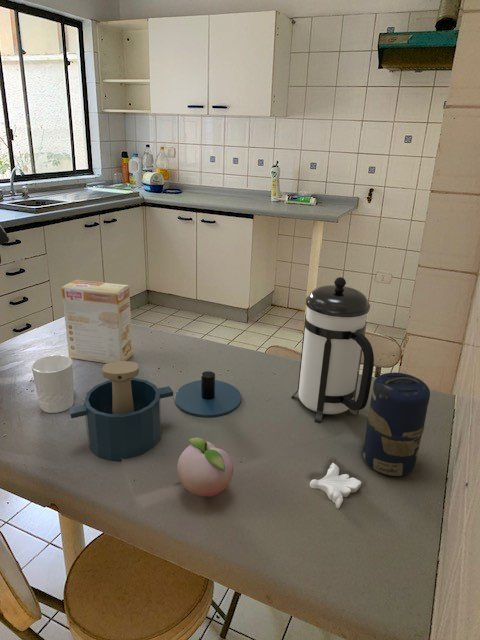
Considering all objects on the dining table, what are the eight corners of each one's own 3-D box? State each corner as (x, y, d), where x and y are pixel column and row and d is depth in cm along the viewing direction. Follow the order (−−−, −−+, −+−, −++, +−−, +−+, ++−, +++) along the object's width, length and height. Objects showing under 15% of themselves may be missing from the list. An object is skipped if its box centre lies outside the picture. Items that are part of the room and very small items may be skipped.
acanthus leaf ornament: (331, 467, 84) (333, 459, 84) (364, 488, 80) (365, 479, 79) (305, 486, 79) (306, 477, 79) (338, 509, 75) (340, 500, 74)
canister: (418, 484, 81) (438, 395, 74) (362, 476, 82) (378, 388, 76) (409, 450, 90) (427, 368, 83) (359, 443, 91) (372, 362, 84)
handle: (109, 429, 91) (103, 361, 86) (142, 427, 92) (139, 360, 87) (106, 444, 87) (100, 374, 81) (141, 442, 88) (137, 372, 82)
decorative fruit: (166, 492, 77) (164, 442, 73) (201, 468, 83) (201, 420, 79) (206, 522, 71) (207, 470, 67) (241, 494, 77) (243, 444, 73)
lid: (165, 391, 106) (164, 365, 104) (223, 379, 113) (224, 354, 110) (188, 426, 94) (188, 398, 92) (252, 410, 101) (254, 383, 98)
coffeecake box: (133, 354, 123) (130, 284, 116) (121, 366, 117) (116, 293, 109) (82, 347, 126) (76, 278, 119) (68, 358, 120) (60, 286, 112)
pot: (68, 430, 91) (63, 388, 88) (161, 409, 100) (160, 370, 96) (80, 473, 80) (75, 427, 77) (183, 445, 88) (183, 402, 85)
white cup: (41, 419, 95) (35, 375, 91) (34, 400, 101) (28, 359, 97) (81, 408, 99) (76, 367, 95) (71, 391, 105) (67, 352, 101)
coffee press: (279, 416, 99) (290, 282, 87) (303, 383, 112) (315, 263, 101) (360, 440, 92) (384, 298, 81) (375, 402, 105) (397, 276, 94)
